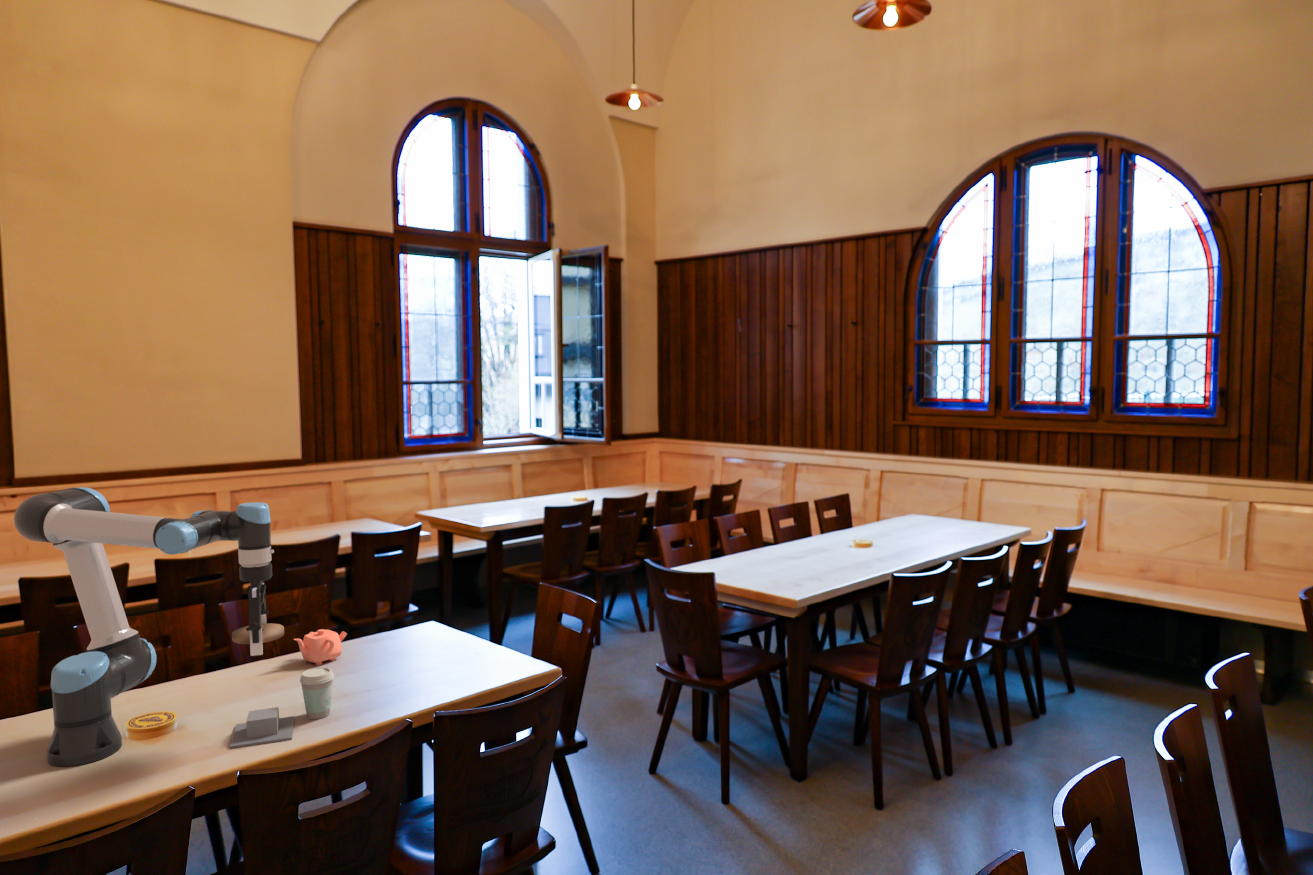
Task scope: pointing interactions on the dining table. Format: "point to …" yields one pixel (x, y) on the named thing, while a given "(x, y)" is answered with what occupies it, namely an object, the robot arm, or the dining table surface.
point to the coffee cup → (317, 691)
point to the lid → (268, 633)
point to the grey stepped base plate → (262, 728)
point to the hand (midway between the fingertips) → (259, 647)
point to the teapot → (321, 646)
